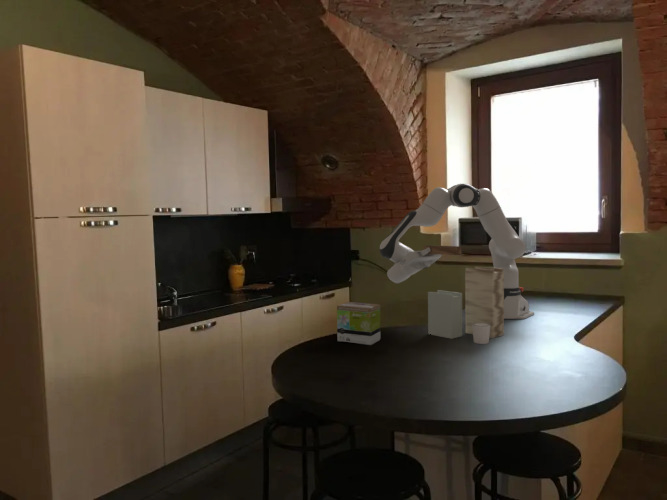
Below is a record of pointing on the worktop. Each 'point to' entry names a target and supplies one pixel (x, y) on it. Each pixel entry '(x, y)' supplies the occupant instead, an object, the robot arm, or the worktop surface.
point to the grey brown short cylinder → (481, 333)
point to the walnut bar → (444, 249)
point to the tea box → (358, 323)
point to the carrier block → (445, 314)
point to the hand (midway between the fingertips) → (434, 248)
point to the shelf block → (485, 299)
